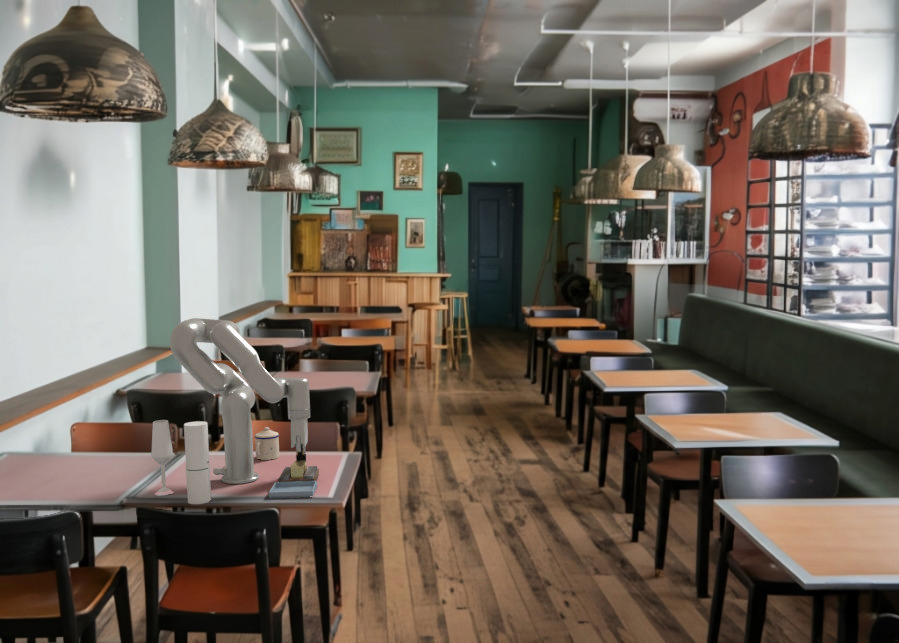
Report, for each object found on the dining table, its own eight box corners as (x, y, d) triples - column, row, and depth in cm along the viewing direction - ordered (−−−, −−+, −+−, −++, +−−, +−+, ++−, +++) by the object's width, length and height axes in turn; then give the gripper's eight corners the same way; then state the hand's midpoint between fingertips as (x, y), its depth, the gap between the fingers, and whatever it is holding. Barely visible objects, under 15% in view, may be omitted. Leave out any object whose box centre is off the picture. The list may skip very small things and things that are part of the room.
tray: (269, 498, 274) (268, 492, 274) (275, 487, 286) (274, 482, 286) (313, 497, 275) (312, 491, 274) (317, 486, 286) (317, 480, 286)
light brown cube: (293, 475, 292) (293, 463, 292) (295, 472, 296) (294, 460, 296) (305, 474, 292) (305, 463, 292) (306, 471, 296) (306, 460, 296)
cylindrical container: (214, 497, 276) (210, 421, 274) (206, 504, 269) (202, 426, 267) (193, 497, 277) (189, 421, 275) (184, 504, 270) (180, 426, 268)
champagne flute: (157, 490, 286) (153, 419, 284) (177, 490, 286) (174, 419, 284) (150, 496, 279) (146, 423, 277) (171, 495, 279) (167, 423, 277)
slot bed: (278, 487, 287) (278, 477, 286) (284, 476, 299) (284, 467, 299) (314, 486, 287) (314, 476, 287) (319, 475, 300) (318, 465, 300)
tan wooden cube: (291, 478, 288) (290, 466, 288) (292, 475, 292) (292, 463, 292) (303, 477, 288) (302, 466, 288) (304, 474, 292) (304, 463, 292)
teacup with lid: (263, 454, 333) (262, 424, 332) (284, 455, 330) (283, 425, 329) (246, 461, 322) (245, 431, 321) (267, 463, 319) (266, 432, 318)
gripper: (291, 409, 304) (293, 460, 305) (285, 418, 289) (287, 471, 290) (312, 409, 304) (314, 459, 306) (307, 417, 289) (310, 470, 291)
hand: (301, 465), depth 298 cm, fingers closed
